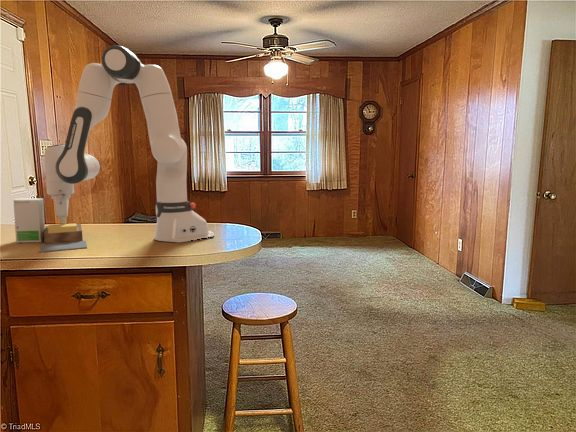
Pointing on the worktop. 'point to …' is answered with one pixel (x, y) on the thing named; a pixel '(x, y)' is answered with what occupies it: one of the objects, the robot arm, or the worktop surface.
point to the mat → (63, 246)
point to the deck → (63, 236)
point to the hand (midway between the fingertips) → (63, 226)
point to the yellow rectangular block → (62, 228)
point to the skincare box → (29, 219)
